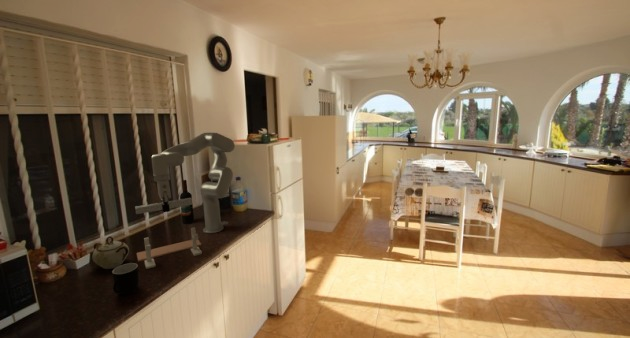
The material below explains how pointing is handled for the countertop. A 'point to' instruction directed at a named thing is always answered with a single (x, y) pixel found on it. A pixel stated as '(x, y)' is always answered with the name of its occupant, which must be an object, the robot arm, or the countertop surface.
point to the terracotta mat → (167, 249)
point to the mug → (125, 278)
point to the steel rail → (159, 205)
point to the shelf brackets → (150, 262)
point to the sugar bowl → (110, 253)
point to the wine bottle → (188, 209)
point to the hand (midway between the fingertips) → (165, 210)
